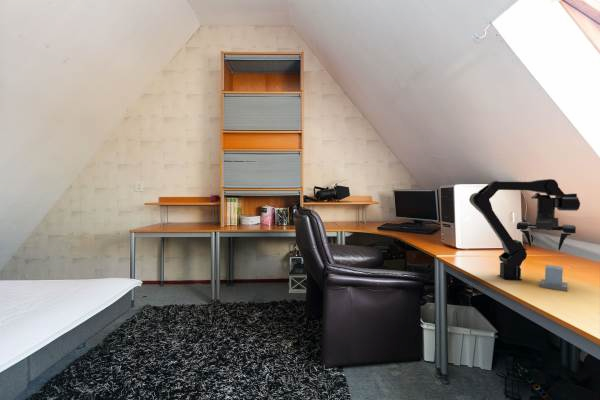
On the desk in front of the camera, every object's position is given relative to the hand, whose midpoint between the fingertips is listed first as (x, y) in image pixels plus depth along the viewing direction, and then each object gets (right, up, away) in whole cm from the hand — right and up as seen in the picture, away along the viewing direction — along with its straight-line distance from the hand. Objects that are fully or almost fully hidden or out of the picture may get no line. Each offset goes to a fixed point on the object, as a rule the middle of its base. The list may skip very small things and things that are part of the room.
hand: (544, 248), depth 129 cm
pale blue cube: (-3, -12, -8) cm, 15 cm away
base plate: (-3, -13, -8) cm, 16 cm away
